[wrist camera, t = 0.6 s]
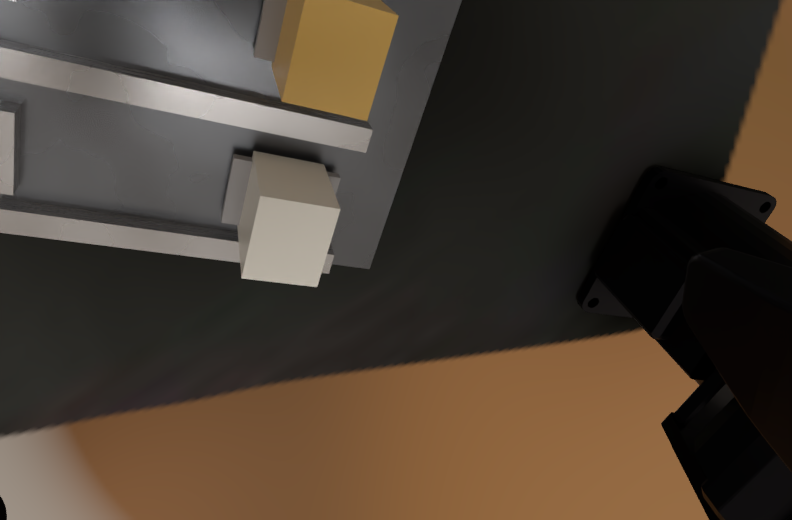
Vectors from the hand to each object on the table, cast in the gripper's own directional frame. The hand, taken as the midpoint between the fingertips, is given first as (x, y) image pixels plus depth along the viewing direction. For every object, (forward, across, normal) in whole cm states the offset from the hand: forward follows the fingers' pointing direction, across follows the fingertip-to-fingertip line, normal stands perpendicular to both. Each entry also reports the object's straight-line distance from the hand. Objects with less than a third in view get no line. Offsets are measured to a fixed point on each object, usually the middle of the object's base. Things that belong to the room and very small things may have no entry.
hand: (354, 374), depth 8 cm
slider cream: (+11, +1, +3) cm, 11 cm away
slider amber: (+11, -1, -2) cm, 11 cm away
